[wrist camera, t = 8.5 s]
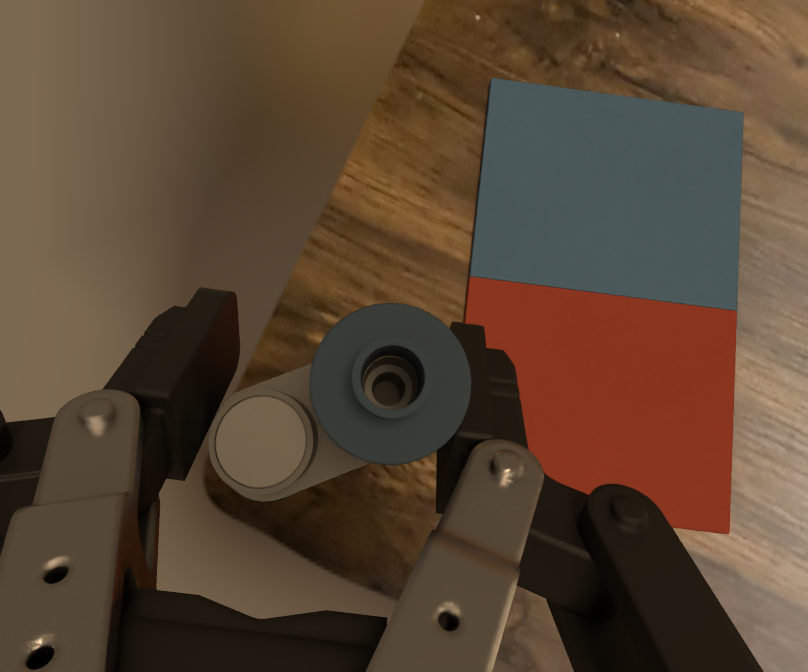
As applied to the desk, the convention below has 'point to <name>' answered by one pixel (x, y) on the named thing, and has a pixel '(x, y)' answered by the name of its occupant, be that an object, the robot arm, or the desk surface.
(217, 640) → the robot arm
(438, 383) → the vaping device
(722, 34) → the desk surface
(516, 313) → the sorting mat
